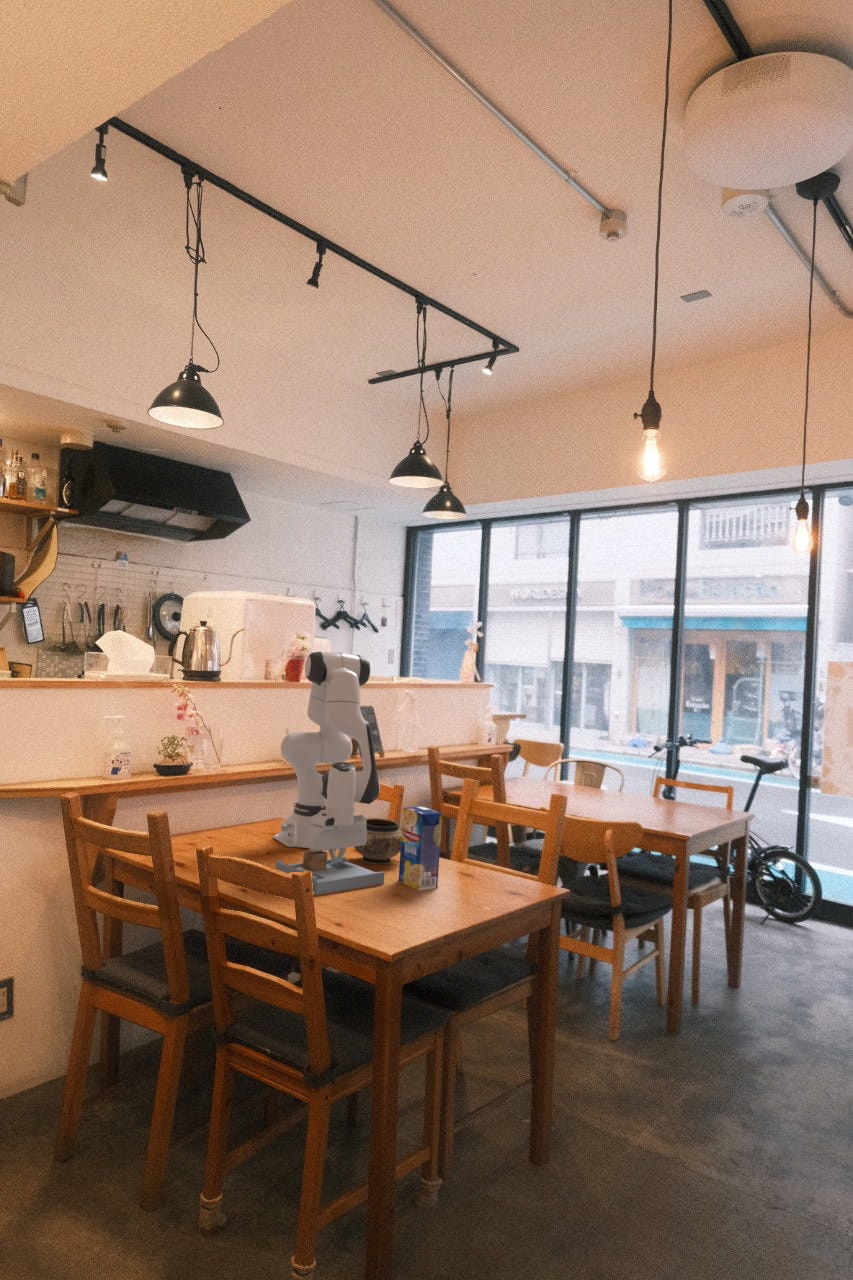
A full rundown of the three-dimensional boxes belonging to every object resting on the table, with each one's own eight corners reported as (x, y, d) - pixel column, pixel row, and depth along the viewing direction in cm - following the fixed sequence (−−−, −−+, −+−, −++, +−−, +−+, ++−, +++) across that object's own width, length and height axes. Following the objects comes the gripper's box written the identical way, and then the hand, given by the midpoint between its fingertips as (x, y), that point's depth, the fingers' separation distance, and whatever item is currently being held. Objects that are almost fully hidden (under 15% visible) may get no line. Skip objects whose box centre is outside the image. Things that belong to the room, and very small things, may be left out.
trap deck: (274, 878, 243) (275, 861, 243) (343, 868, 260) (344, 852, 260) (313, 895, 228) (314, 877, 229) (383, 884, 245) (384, 867, 245)
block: (302, 868, 248) (303, 851, 248) (315, 865, 251) (317, 849, 251) (313, 871, 244) (314, 854, 244) (326, 869, 248) (327, 852, 248)
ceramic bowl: (357, 879, 259) (368, 835, 256) (327, 852, 272) (337, 810, 269) (417, 870, 275) (427, 828, 272) (385, 845, 288) (395, 805, 285)
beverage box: (417, 878, 254) (422, 806, 254) (437, 888, 245) (442, 813, 245) (398, 880, 250) (403, 807, 250) (418, 890, 241) (423, 814, 241)
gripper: (360, 812, 261) (357, 856, 261) (306, 817, 248) (302, 864, 247) (372, 816, 257) (369, 861, 256) (318, 821, 243) (314, 869, 243)
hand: (336, 862), depth 252 cm, fingers closed
